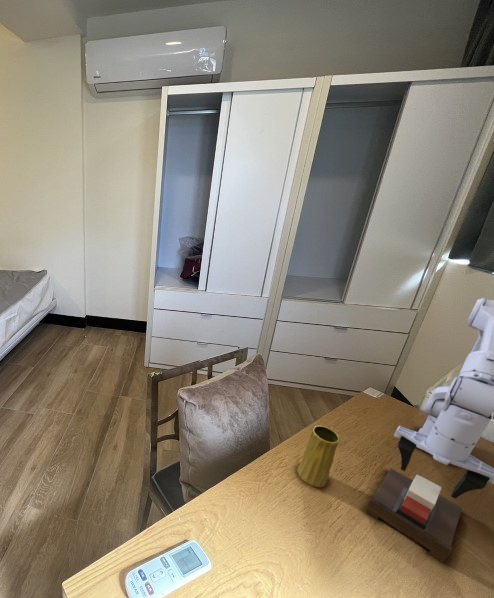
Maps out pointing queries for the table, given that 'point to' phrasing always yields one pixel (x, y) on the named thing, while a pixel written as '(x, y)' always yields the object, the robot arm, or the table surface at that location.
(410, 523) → the dark brown slab
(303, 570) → the table surface
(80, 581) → the table surface
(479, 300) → the robot arm
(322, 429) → the vase
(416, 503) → the two-tone white red block
